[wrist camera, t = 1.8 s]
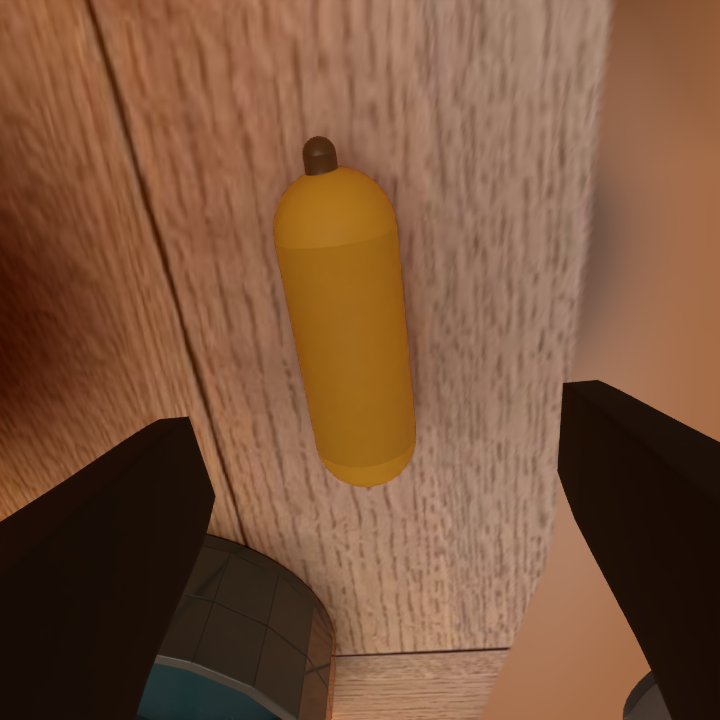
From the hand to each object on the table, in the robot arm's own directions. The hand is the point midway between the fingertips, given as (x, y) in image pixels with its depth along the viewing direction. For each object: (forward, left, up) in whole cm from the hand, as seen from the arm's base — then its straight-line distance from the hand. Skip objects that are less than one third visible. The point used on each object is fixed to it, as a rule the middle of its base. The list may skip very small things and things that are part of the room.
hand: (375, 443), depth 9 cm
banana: (0, 0, -6) cm, 6 cm away
